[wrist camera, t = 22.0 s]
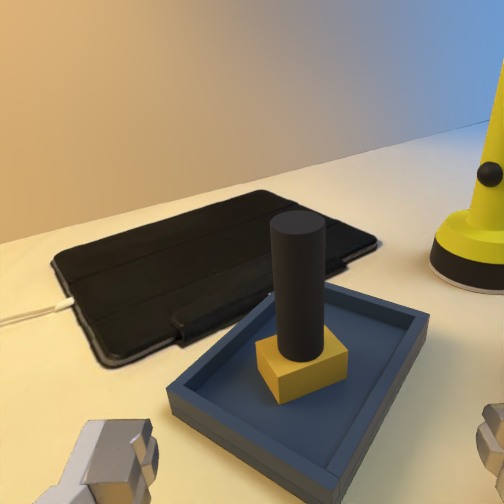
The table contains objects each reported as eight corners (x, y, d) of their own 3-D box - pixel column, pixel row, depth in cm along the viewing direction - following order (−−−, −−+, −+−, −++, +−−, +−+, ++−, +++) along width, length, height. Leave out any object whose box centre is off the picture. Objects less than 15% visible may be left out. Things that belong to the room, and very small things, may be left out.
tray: (331, 520, 20) (332, 491, 19) (172, 414, 27) (165, 388, 26) (425, 339, 31) (430, 313, 30) (295, 294, 37) (294, 271, 36)
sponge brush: (279, 406, 26) (269, 246, 20) (257, 368, 28) (243, 220, 23) (347, 378, 27) (355, 222, 21) (319, 346, 30) (320, 201, 24)
